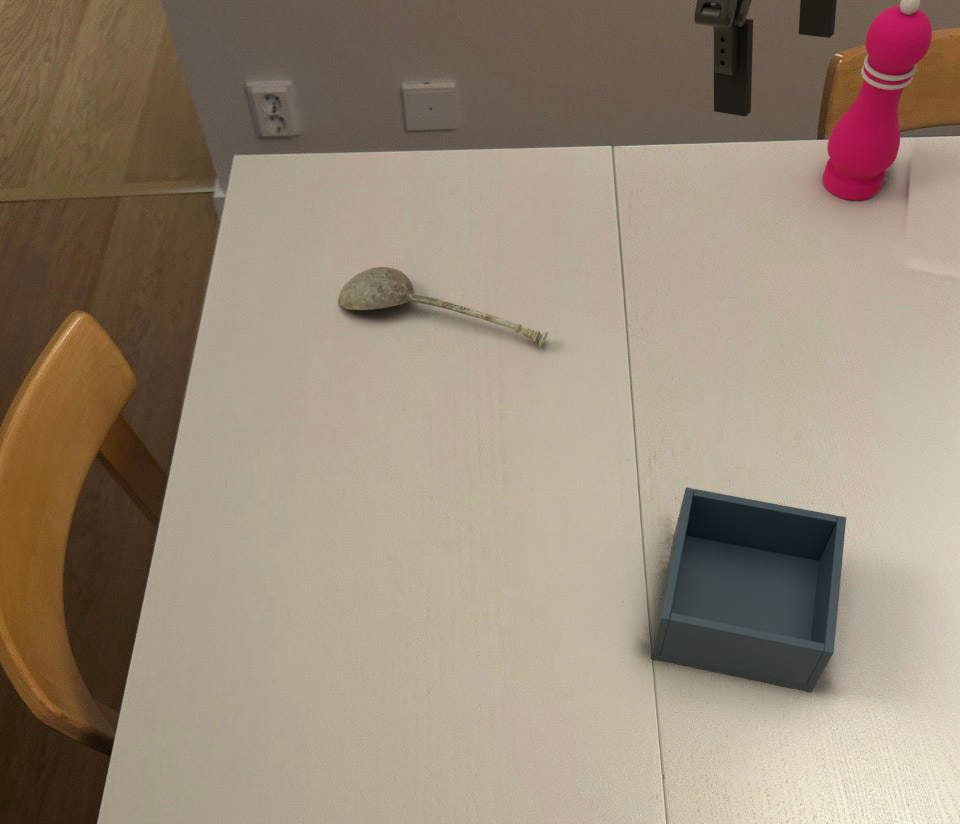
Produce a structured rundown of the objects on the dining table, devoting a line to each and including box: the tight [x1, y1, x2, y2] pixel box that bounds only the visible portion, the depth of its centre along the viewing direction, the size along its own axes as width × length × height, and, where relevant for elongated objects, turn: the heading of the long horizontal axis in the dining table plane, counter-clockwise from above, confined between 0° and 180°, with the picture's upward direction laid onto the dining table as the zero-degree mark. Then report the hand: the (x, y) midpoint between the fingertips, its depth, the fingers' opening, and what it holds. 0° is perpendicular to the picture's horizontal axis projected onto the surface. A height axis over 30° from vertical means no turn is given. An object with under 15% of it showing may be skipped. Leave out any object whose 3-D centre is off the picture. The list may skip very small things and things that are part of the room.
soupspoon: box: [338, 266, 549, 349], centre depth 105 cm, size 22×3×7 cm
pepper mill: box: [822, 0, 933, 201], centre depth 107 cm, size 7×7×20 cm
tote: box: [649, 487, 847, 693], centre depth 85 cm, size 13×13×6 cm
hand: (775, 72), depth 83 cm, fingers open, 13 cm apart
